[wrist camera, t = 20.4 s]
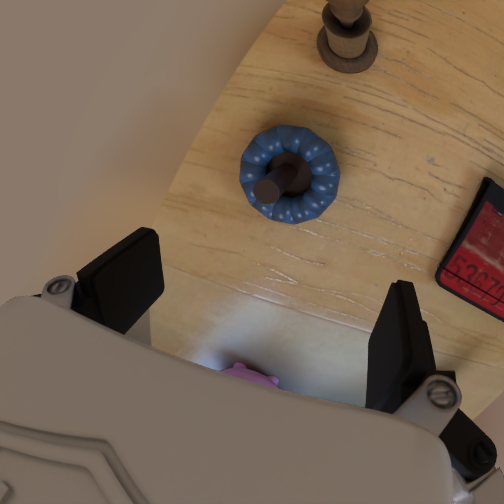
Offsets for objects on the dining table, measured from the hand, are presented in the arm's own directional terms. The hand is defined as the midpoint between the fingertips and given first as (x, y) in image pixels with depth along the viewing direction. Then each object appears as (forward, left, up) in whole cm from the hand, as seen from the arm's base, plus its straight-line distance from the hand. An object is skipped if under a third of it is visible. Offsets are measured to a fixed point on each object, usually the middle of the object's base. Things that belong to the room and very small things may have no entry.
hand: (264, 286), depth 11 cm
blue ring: (+1, -3, -22) cm, 23 cm away
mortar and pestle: (-15, +2, -25) cm, 29 cm away
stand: (+1, -4, -25) cm, 25 cm away
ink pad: (+6, +29, -25) cm, 39 cm away
